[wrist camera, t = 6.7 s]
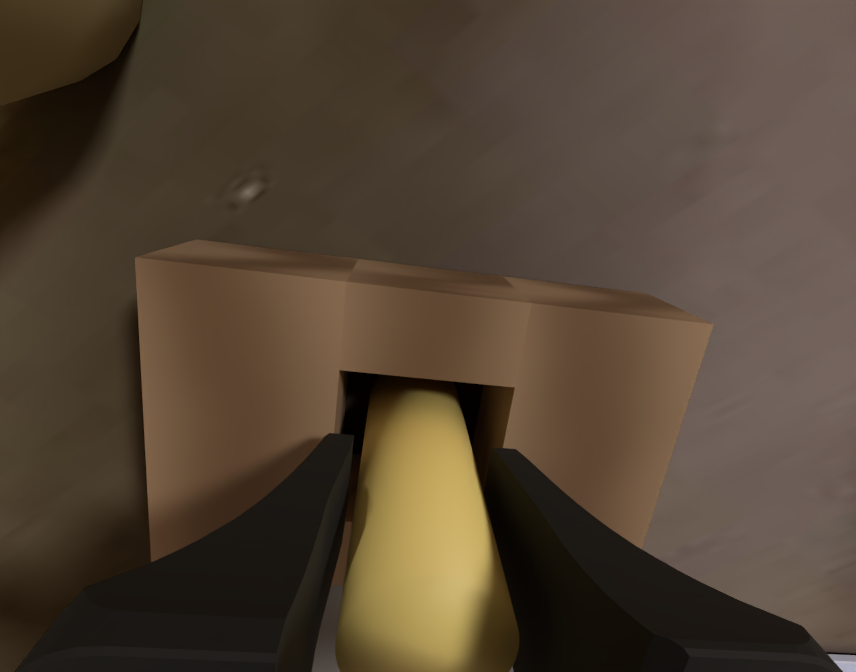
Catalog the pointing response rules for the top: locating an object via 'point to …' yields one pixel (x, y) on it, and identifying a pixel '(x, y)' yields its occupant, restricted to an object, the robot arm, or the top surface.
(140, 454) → the top surface
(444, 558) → the peg
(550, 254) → the top surface
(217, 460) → the walnut block
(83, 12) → the squeeze bottle
